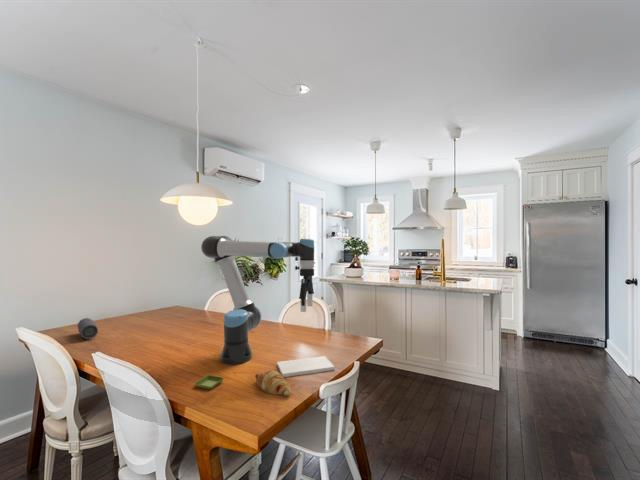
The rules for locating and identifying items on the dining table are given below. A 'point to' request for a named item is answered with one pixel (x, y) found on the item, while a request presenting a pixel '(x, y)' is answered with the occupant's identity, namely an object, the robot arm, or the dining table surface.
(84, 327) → the bluetooth speaker
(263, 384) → the croissant
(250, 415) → the dining table surface
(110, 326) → the dining table surface
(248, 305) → the robot arm
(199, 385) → the saucer
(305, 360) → the platter
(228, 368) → the dining table surface
